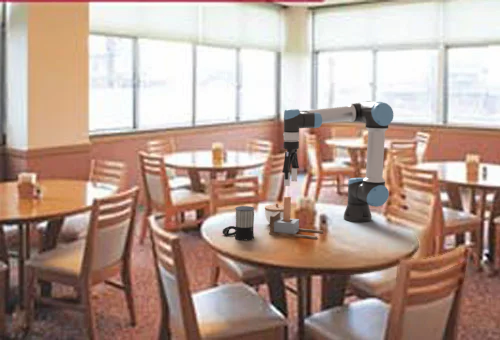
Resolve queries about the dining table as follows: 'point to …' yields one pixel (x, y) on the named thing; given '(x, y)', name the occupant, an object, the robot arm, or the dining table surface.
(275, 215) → the track
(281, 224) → the block
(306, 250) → the dining table surface
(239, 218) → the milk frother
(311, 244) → the dining table surface
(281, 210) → the lidded bowl
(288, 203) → the dowel
